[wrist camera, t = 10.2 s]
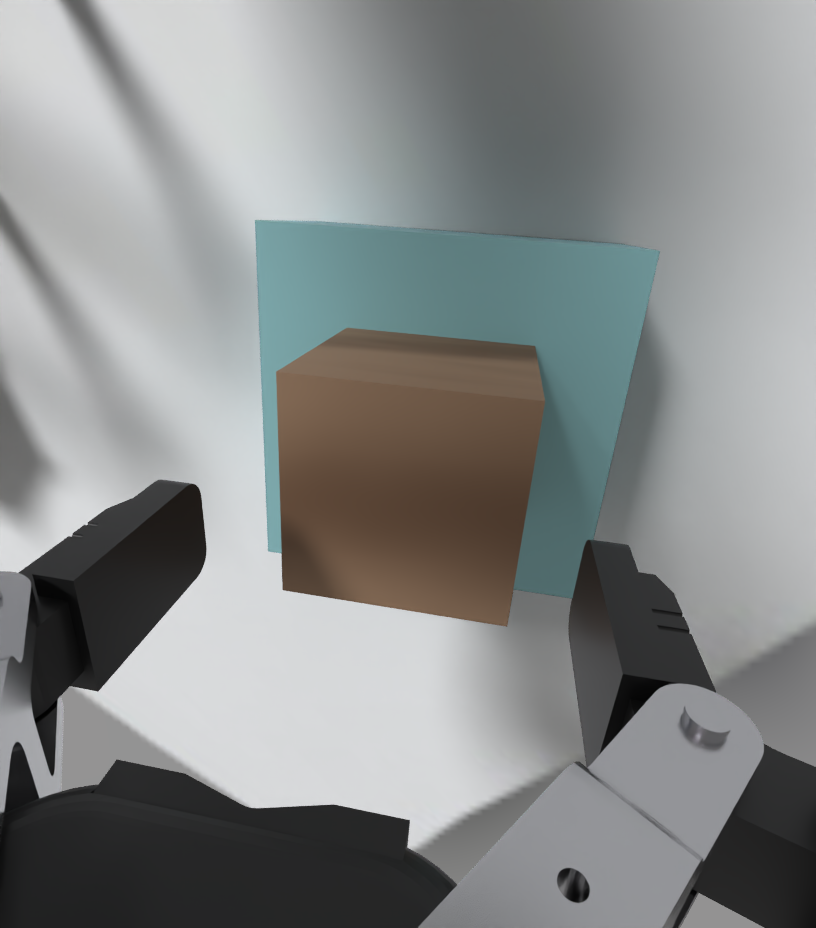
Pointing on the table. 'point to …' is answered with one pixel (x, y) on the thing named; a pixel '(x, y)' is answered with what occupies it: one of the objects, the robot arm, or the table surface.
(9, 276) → the table surface
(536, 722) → the table surface
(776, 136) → the table surface
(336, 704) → the table surface
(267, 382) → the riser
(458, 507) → the walnut cube
